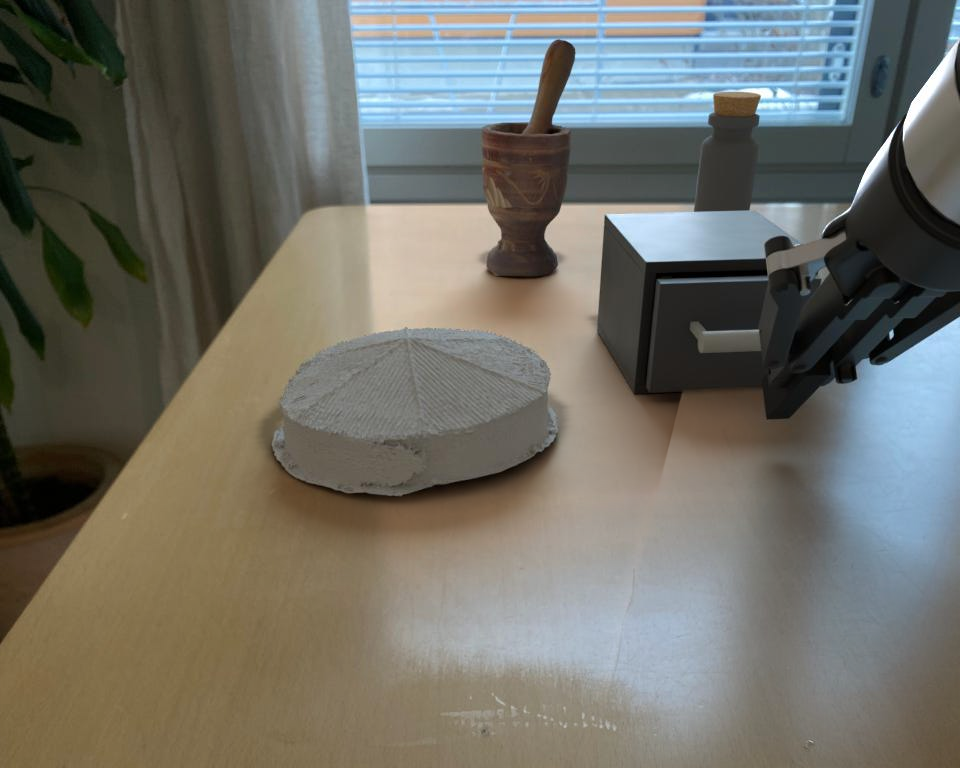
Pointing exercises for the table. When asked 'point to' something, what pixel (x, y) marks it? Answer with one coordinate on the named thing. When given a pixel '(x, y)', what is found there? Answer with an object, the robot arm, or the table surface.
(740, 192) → the bottle
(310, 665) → the table surface
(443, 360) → the grey round squat piece
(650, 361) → the drawer
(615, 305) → the cabinet
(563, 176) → the mortar and pestle
